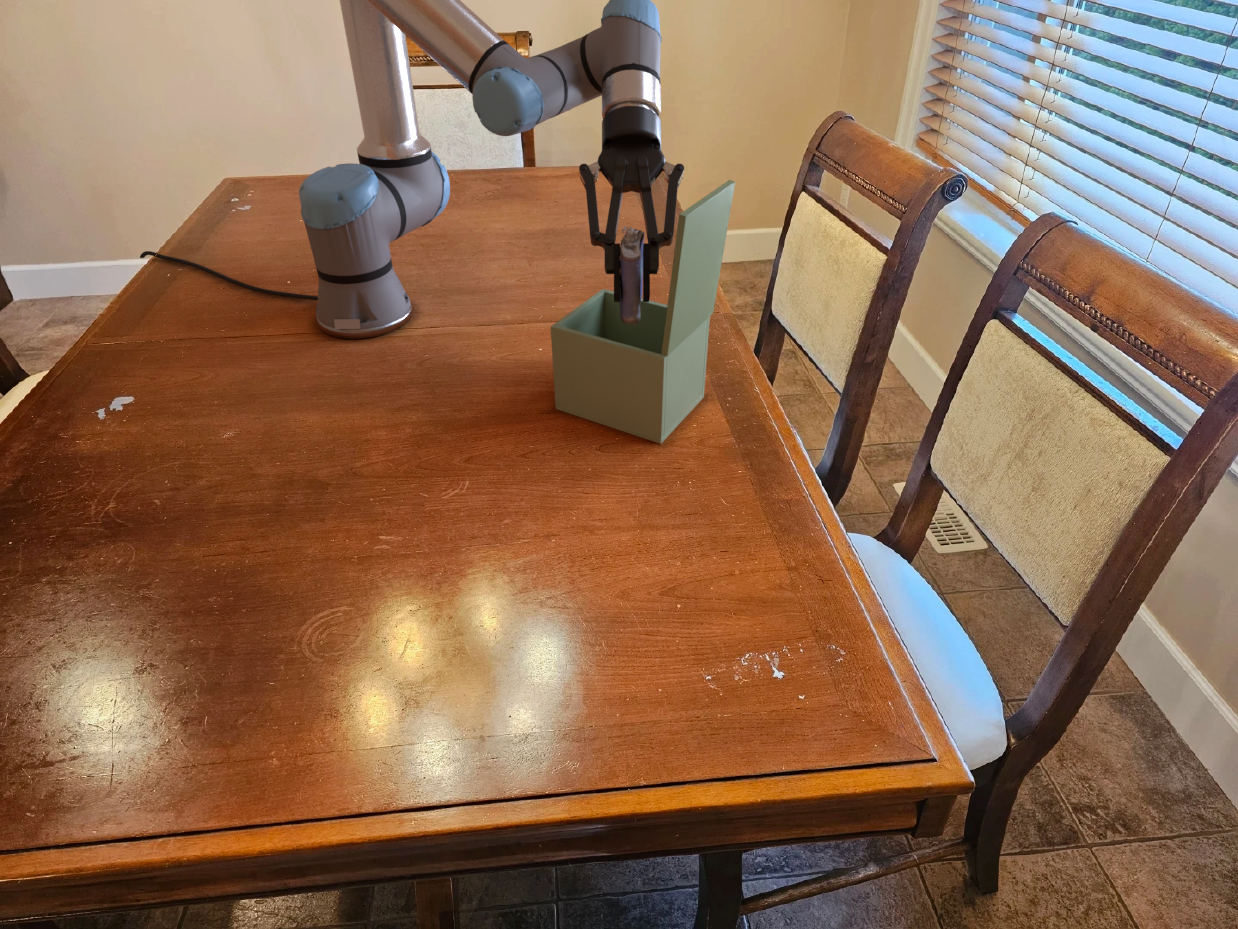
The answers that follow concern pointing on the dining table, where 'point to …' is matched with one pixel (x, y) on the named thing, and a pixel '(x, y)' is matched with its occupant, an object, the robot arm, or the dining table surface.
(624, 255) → the flask
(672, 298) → the lid
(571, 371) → the chest
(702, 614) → the dining table surface
